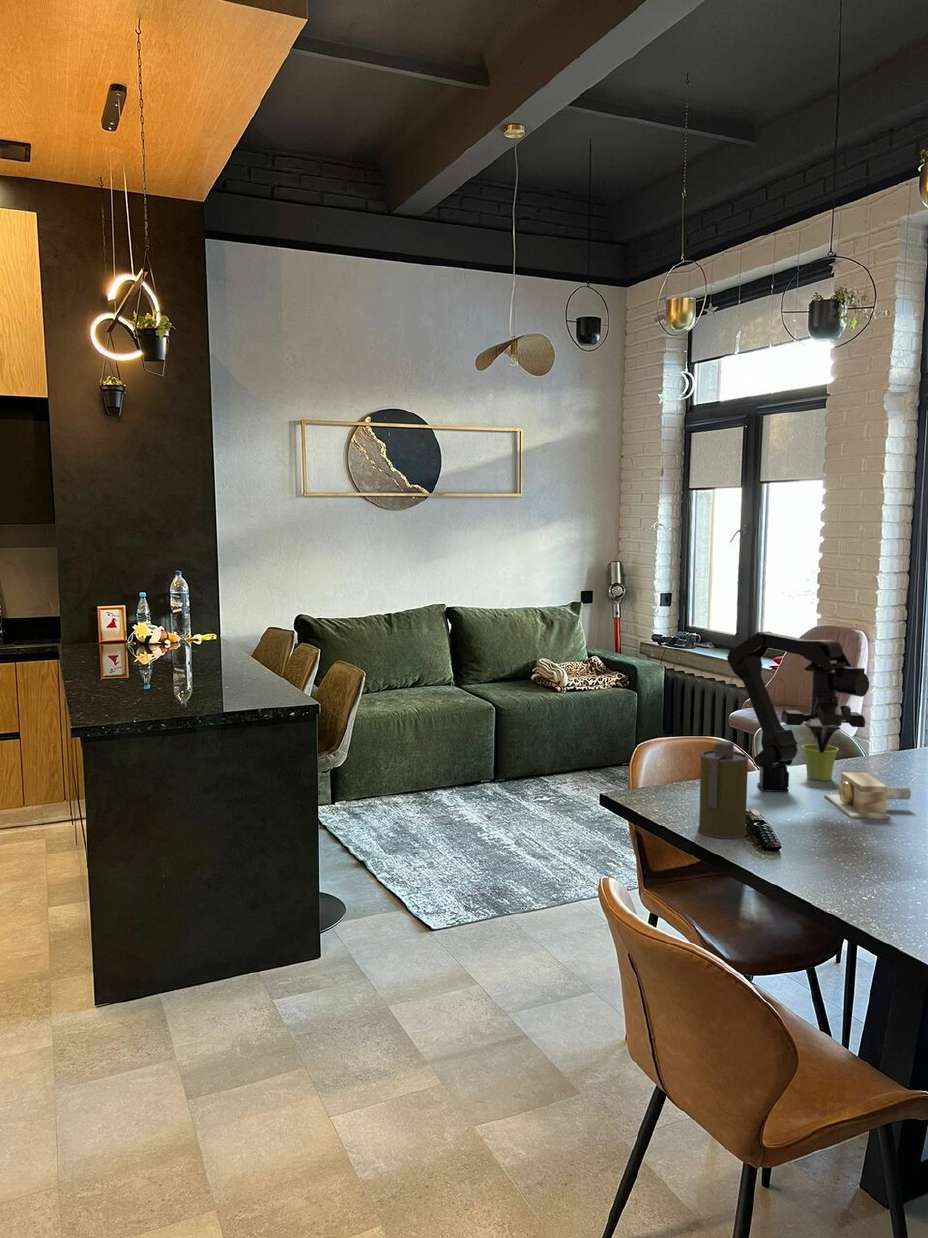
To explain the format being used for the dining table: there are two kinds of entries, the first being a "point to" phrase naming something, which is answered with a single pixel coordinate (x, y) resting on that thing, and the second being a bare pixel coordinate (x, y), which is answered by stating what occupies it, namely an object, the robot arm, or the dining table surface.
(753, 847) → the dining table surface
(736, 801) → the canister
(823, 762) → the plant pot
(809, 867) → the dining table surface
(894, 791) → the door knob
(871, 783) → the block
